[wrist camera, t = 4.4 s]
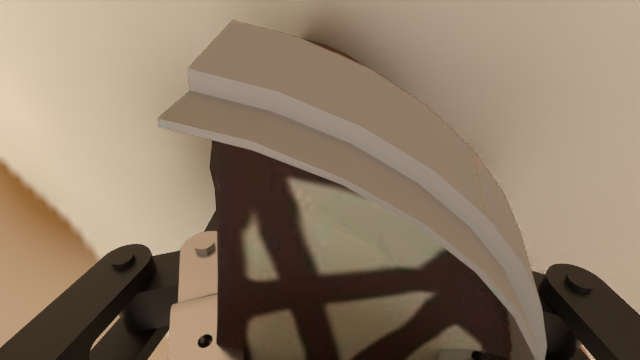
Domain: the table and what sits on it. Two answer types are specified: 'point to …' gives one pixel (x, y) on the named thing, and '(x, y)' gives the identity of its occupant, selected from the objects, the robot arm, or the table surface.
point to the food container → (349, 212)
